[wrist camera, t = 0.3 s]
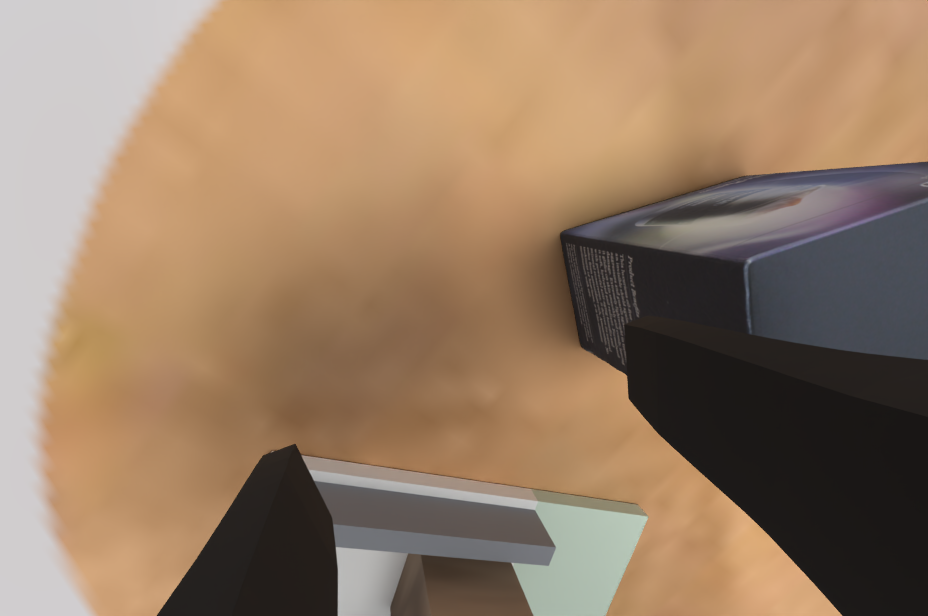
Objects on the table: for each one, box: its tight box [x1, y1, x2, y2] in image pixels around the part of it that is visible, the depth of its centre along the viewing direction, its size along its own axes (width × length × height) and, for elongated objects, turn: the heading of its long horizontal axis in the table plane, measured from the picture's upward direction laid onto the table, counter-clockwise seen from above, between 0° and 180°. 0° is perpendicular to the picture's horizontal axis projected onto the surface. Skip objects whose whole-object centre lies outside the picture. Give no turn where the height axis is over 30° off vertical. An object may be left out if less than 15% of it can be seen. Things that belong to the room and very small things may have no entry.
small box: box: [560, 162, 928, 375], centre depth 16 cm, size 11×6×10 cm, turn 105°
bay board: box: [271, 451, 648, 616], centre depth 21 cm, size 9×20×4 cm, turn 72°
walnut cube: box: [390, 553, 533, 616], centre depth 19 cm, size 4×4×4 cm
